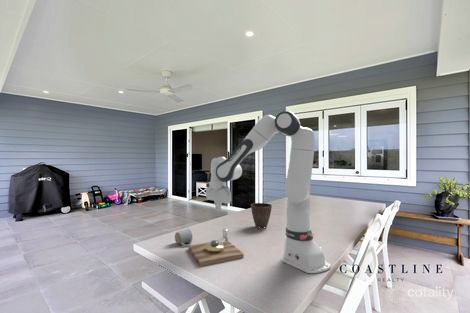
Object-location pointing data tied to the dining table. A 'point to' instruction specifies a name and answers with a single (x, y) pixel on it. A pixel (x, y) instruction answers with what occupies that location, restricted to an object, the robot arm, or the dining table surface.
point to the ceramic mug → (184, 237)
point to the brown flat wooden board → (214, 254)
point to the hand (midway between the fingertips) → (218, 209)
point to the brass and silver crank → (217, 243)
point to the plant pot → (261, 214)
